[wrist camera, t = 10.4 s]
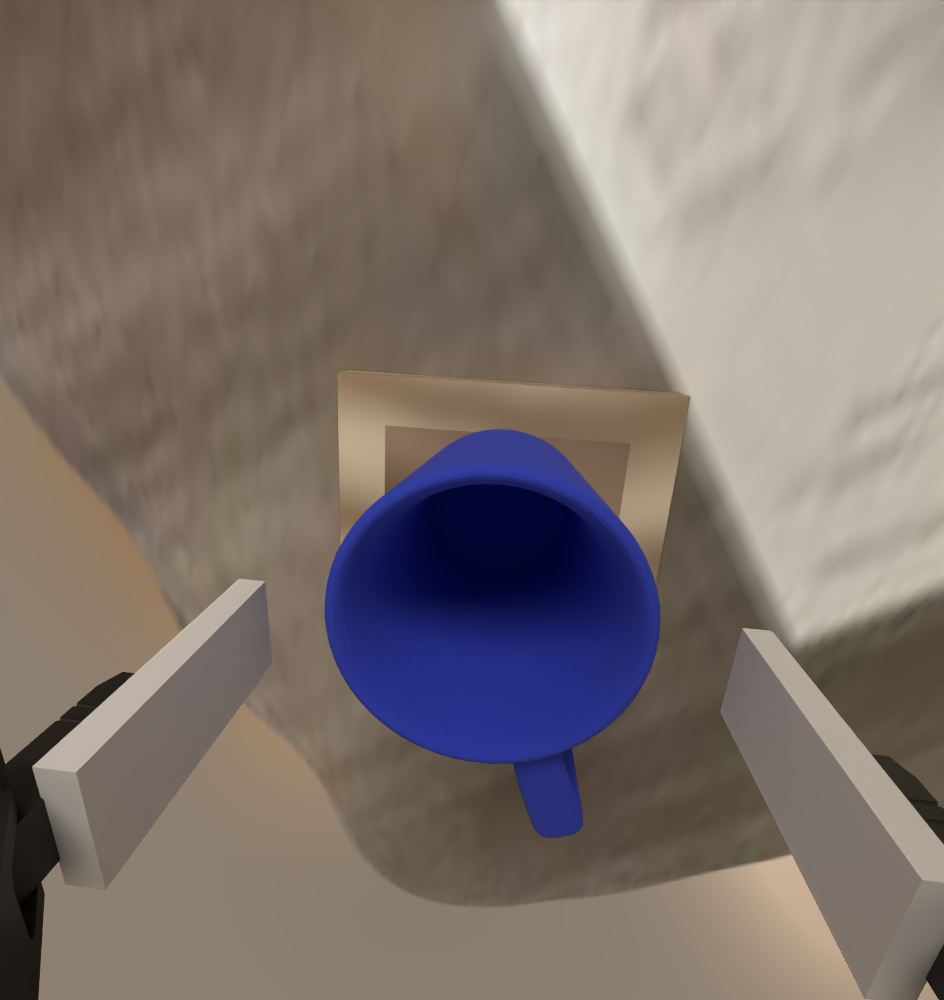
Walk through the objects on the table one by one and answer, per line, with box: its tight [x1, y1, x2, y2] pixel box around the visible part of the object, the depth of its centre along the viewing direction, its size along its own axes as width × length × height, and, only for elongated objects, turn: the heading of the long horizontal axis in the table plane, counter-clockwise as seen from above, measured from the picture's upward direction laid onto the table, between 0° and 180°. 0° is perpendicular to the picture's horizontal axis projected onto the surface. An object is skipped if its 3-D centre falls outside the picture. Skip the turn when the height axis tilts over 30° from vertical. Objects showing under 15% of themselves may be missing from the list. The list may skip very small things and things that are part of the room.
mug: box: [325, 429, 660, 838], centre depth 18 cm, size 8×12×10 cm
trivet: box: [337, 370, 690, 584], centre depth 23 cm, size 14×14×2 cm
